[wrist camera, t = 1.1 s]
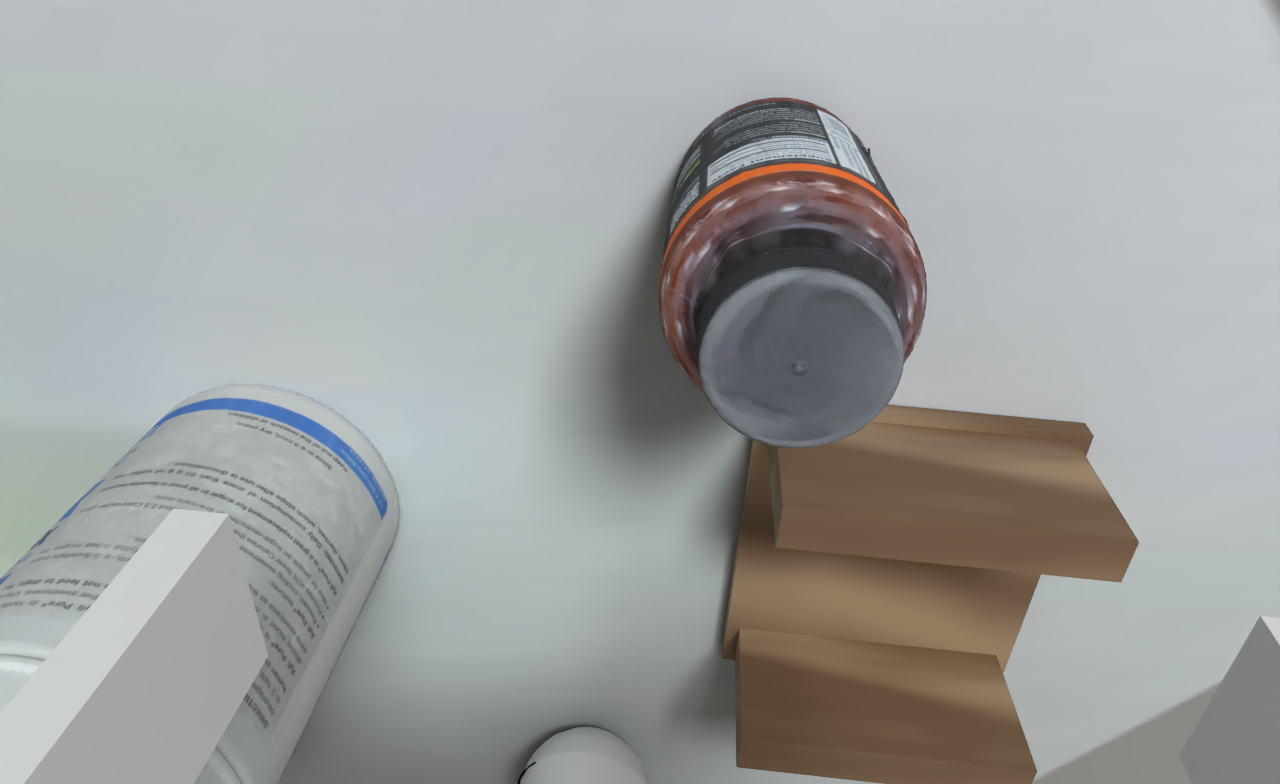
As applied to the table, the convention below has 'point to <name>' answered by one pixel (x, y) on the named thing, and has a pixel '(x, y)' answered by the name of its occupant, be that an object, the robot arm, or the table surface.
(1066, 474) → the holder cradle
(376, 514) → the supplement tub
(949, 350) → the table surface
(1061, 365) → the table surface
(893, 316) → the supplement bottle
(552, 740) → the white oval egg shape
